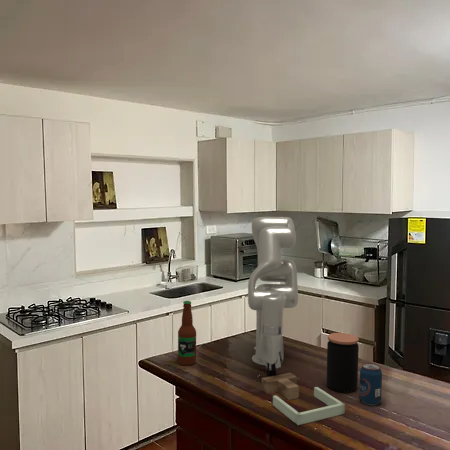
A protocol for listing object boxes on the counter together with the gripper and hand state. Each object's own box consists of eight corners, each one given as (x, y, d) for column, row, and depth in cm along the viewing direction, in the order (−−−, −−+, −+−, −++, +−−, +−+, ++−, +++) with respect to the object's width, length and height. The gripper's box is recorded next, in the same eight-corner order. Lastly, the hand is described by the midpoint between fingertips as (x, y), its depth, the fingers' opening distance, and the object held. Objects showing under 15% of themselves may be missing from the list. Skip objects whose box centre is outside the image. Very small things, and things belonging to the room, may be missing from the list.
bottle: (174, 363, 182) (174, 302, 180) (185, 358, 188) (185, 298, 186) (188, 367, 178) (188, 304, 176) (199, 361, 184) (200, 301, 182)
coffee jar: (351, 380, 167) (353, 332, 165) (361, 393, 156) (363, 342, 155) (323, 380, 166) (324, 332, 165) (330, 393, 156) (332, 342, 154)
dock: (272, 405, 147) (272, 395, 146) (316, 395, 154) (317, 386, 154) (297, 425, 134) (298, 415, 134) (344, 413, 141) (344, 404, 141)
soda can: (354, 399, 152) (355, 363, 151) (370, 395, 154) (371, 361, 154) (369, 408, 145) (370, 371, 144) (385, 404, 148) (387, 368, 147)
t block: (261, 389, 159) (261, 378, 158) (290, 383, 164) (290, 372, 163) (278, 402, 149) (278, 390, 148) (308, 395, 154) (308, 384, 154)
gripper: (252, 325, 168) (252, 373, 169) (273, 336, 155) (273, 389, 156) (270, 323, 171) (269, 370, 172) (292, 334, 158) (291, 385, 159)
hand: (271, 379), depth 164 cm, fingers closed
